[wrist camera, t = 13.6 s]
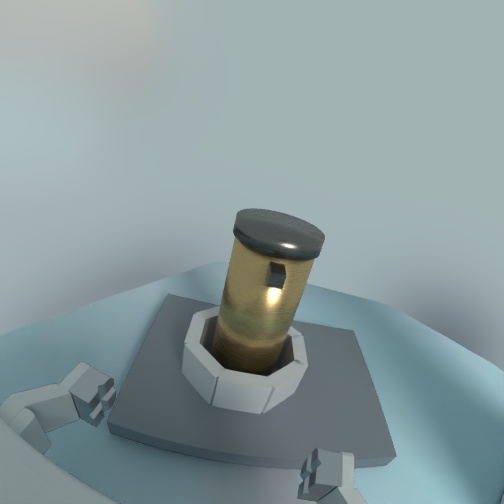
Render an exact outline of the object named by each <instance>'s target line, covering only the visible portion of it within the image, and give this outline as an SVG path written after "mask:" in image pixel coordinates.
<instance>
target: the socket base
mask: <svg viewBox="0 0 504 504" xmlns="http://www.w3.org/2000/svg"><path fill="white" fill-rule="evenodd" d="M219 310H220V306H218V305H214V304H209V303H205V302H201V301H196V300H192V299H188V298H184V297H180V296H176V295H172V294H168V295H167V297H166V299H165V301H164V303H163V305H162V307H161V309H160V311H159V313H158V315H157V317H156V318H155V320H154V322H153V324H152V326H151V328H150V330H149V332H148V334H147V336H146V338H145V340H144V342H143V344H142V347H141V349H140V351H139V353H138V355H137V357H136V359H135V361H134V363H133V365H132V367H131V369H130V371H129V374H128V376H127V378H126V380H125V382H124V384H123V386H122V389H121V391H120V393H119V395H118V397H117V400H116V402H115V404H114V406H113V409H112V411H111V413H110V415H109V418H108V420H107V424H108V427H109V431H110V433H113V434H116V435H119V436H122V437H125V438H128V439H131V440H134V441H137V442H140V443H144V444H147V445H150V446H154V447H158V448H161V449H165V450H169V451H173V452H177V453H181V454H186V455H190V456H195V457H200V458H205V459H211V460H216V461H222V462H229V463H236V464H243V465H252V466H262V467H273V468H290V469H302V466H303V464H304V461H305V460H306V458H307V457H308V456H311V455H312V451H313V450H314V449H315V448H321V449H328V450H335V451H341V452H349V453H353V455H354V468H363V467H375V466H384V465H387V464H388V463H389V462H391V461H392V460H393V459H394V458H395V457H396V452H395V449H394V446H393V442H392V439H391V436H390V433H389V429H388V426H387V423H386V420H385V417H384V414H383V411H382V408H381V405H380V402H379V399H378V396H377V393H376V390H375V388H374V385H373V382H372V379H371V376H370V373H369V371H368V368H367V365H366V363H365V360H364V357H363V354H362V352H361V349H360V346H359V344H358V341H357V339H356V336H355V333H354V331H352V330H346V329H339V328H333V327H327V326H321V325H315V324H309V323H304V322H298V321H292V324H291V326H290V329H289V331H288V334H287V337H286V339H285V342H284V344H283V347H282V349H281V352H280V355H279V357H278V360H277V362H276V365H275V367H274V369H273V372H272V374H271V375H269V376H268V377H267V376H261V375H255V374H249V373H243V372H238V371H233V370H228V369H224V368H223V367H222V366H221V365H220V364H219V363H218V362H217V361H216V360H215V359H214V358H213V357H212V355H211V349H212V344H213V339H214V334H215V329H216V324H217V319H218V314H219Z"/></svg>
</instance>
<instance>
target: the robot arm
mask: <svg viewBox="0 0 504 504" xmlns="http://www.w3.org/2000/svg"><path fill="white" fill-rule="evenodd" d="M113 385H114V379H113V378H111V377H109V376H107V375H105V374H104V373H102V372H100V371H98V370H96V369H94V368H93V367H91V366H89V365H88V364H86V363H84V362H81V363H79V364H78V365H77V366H76V367H75V368H74V369H73V370H72V371H71V372H70V373H69V374H68V375H67V376H66V377H65V378H64V379H63V380H62V381H61V382H60V383H59V385H58V384H56V383H54V384H51V385H47V386H43V387H39V388H35V389H31V390H26V391H22V392H18V393H13V394H11V395H10V396H9V397H8V398H7V399H6V400H5V401H4V402H3V403H2V404H1V405H0V504H120V503H119V502H117V501H115V500H113V499H111V498H109V497H107V496H105V495H104V494H102V493H100V492H98V491H96V490H95V489H93V488H91V487H90V486H88V485H86V484H85V483H83V482H81V481H80V480H78V479H77V478H75V477H74V476H72V475H71V474H69V473H68V472H66V471H65V470H63V469H62V468H60V467H59V466H57V465H56V464H55V463H53V462H52V461H51V460H49V459H48V458H47V457H45V456H44V454H45V452H46V451H47V450H48V448H49V447H50V446H51V443H50V440H49V439H48V437H47V436H46V434H45V433H47V432H49V431H52V430H54V429H57V428H59V427H62V426H64V425H67V424H69V423H72V422H74V421H76V420H79V419H80V418H81V419H82V420H84V421H86V422H87V423H89V424H91V425H93V426H95V427H97V426H98V424H99V423H100V422H101V420H102V419H103V418H104V411H107V410H109V409H110V408H111V407H112V405H113V403H114V401H115V397H116V391H115V389H114V388H113V387H112V386H113ZM300 476H301V478H302V480H303V482H302V483H301V484H300V485H299V489H298V495H297V499H302V500H308V501H315V502H317V504H368V503H367V502H366V500H365V499H364V498H363V496H362V495H361V493H360V492H359V490H358V489H357V488H354V455H353V453H349V452H341V451H335V450H328V449H321V448H315V449H314V450H313V451H312V455H311V456H308V457H307V458H306V460H305V461H304V464H303V466H302V469H301V475H300ZM500 504H504V494H503V496H502V500H501V503H500Z"/></svg>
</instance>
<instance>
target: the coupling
mask: <svg viewBox="0 0 504 504" xmlns="http://www.w3.org/2000/svg"><path fill="white" fill-rule="evenodd" d="M233 233H234V235H235V240H234V245H233V249H232V254H231V258H230V263H229V267H228V272H227V277H226V281H225V286H224V291H223V295H222V300H221V305H220V310H219V314H218V319H217V324H216V329H215V334H214V339H213V344H212V349H211V355H212V357H213V358H214V359H215V360H216V361H217V362H218V363H219V364H220V365H221V366H222V367H223V368H224V369H228V370H233V371H238V372H243V373H249V374H255V375H261V376H267V377H268V376H269V375H271V374H272V372H273V369H274V367H275V365H276V362H277V360H278V357H279V355H280V352H281V349H282V347H283V344H284V342H285V339H286V337H287V334H288V331H289V329H290V326H291V324H292V321H293V318H294V316H295V313H296V310H297V307H298V305H299V302H300V299H301V296H302V294H303V291H304V288H305V285H306V282H307V280H308V276H309V274H310V271H311V268H312V265H313V262H314V259H315V258H317V257H318V256H319V254H320V251H321V249H322V246H323V243H324V240H325V236H324V234H323V232H322V231H321V230H319V229H318V228H317V227H315V226H314V225H312V224H310V223H308V222H306V221H304V220H301V219H299V218H297V217H294V216H291V215H288V214H284V213H281V212H276V211H271V210H265V209H244V210H241V211H239V212H238V213H237V215H236V220H235V224H234V229H233Z"/></svg>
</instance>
